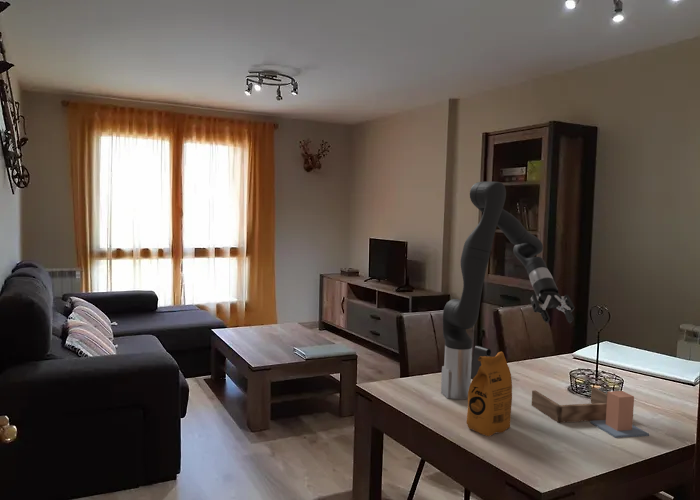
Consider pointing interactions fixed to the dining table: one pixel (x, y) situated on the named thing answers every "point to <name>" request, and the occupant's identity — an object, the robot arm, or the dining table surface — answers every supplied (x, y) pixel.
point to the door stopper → (475, 362)
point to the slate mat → (618, 434)
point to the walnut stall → (572, 408)
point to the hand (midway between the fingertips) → (559, 321)
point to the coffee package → (490, 396)
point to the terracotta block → (619, 410)
